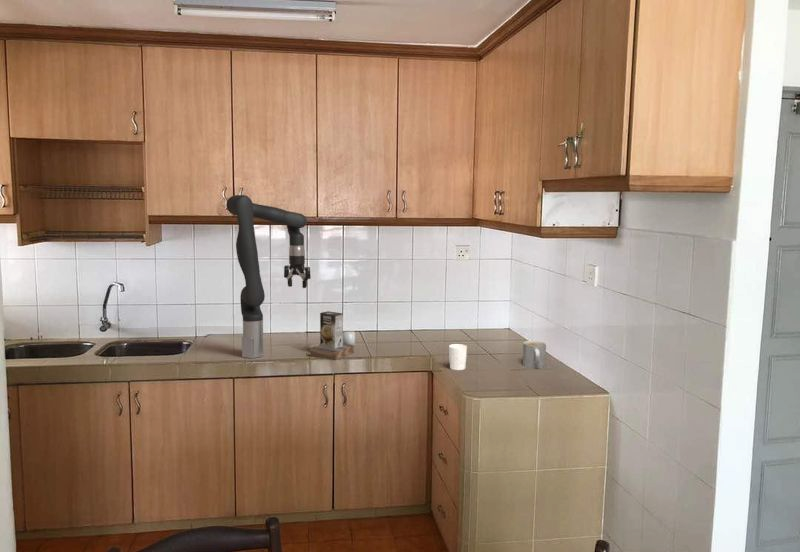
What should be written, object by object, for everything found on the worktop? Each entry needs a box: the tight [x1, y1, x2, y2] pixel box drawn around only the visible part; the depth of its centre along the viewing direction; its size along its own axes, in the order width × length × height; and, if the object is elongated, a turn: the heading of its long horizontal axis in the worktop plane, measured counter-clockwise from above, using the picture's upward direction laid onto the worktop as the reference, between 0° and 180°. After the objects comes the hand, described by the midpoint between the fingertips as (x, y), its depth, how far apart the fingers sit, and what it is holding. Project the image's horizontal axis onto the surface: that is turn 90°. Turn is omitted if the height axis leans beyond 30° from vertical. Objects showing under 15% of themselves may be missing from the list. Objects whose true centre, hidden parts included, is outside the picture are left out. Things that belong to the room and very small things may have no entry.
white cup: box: [448, 343, 468, 371], centre depth 285 cm, size 8×8×10 cm
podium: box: [310, 342, 355, 361], centre depth 307 cm, size 16×14×4 cm
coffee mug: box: [522, 340, 547, 369], centre depth 290 cm, size 13×10×10 cm
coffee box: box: [319, 310, 344, 348], centre depth 306 cm, size 9×6×16 cm
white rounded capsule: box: [342, 330, 356, 350], centre depth 320 cm, size 6×6×8 cm
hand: (297, 287), depth 318 cm, fingers open, 8 cm apart
